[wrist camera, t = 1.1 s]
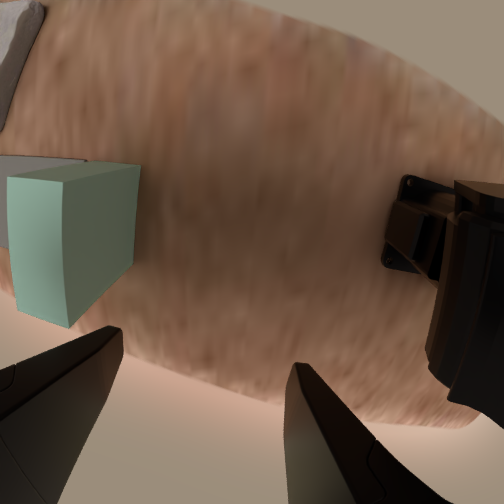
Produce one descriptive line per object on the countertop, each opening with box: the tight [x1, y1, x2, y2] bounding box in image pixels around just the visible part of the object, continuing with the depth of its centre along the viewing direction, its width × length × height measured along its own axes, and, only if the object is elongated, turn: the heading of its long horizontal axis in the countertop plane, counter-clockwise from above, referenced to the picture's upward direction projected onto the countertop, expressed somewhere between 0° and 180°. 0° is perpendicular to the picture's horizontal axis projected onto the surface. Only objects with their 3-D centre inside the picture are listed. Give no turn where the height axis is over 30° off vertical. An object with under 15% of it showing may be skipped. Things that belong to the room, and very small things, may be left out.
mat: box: [0, 155, 87, 249], centre depth 20 cm, size 10×8×1 cm
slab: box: [7, 161, 141, 329], centre depth 16 cm, size 4×7×9 cm, turn 170°
